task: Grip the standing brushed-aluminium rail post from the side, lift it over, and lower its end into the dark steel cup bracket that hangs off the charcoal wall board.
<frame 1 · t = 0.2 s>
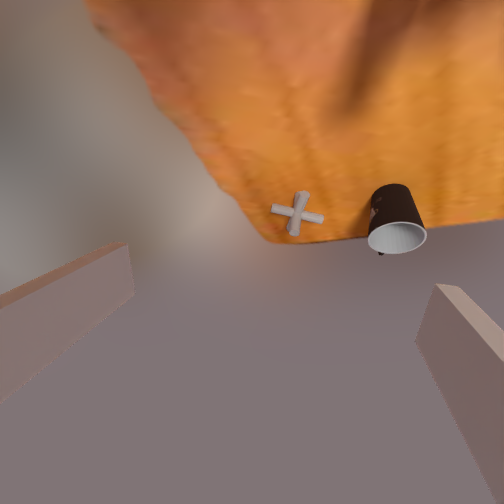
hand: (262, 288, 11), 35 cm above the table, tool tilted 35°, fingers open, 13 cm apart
coffee mug: (384, 201, 50), on the table
pipe connector: (299, 194, 53), on the table
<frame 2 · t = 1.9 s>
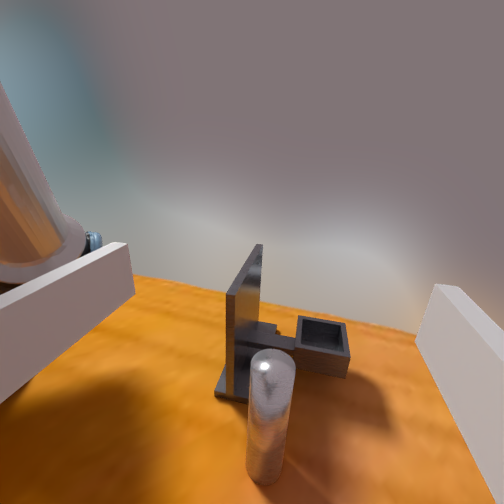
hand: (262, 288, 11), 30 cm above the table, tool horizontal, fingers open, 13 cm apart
rail post: (263, 463, 32), on the table
cup bracket: (315, 371, 45), on the table
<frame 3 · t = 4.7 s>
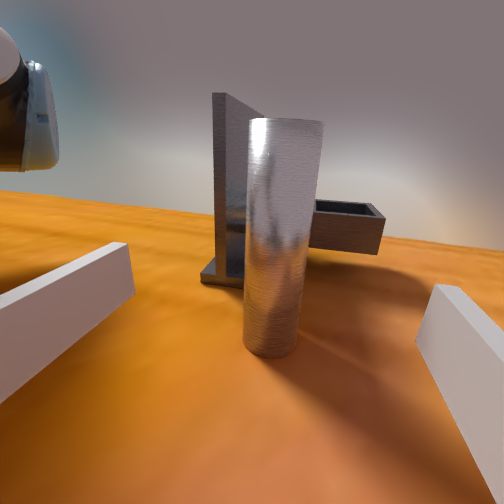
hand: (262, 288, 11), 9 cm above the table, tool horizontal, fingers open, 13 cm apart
rail post: (269, 338, 21), on the table
cup bracket: (332, 266, 35), on the table
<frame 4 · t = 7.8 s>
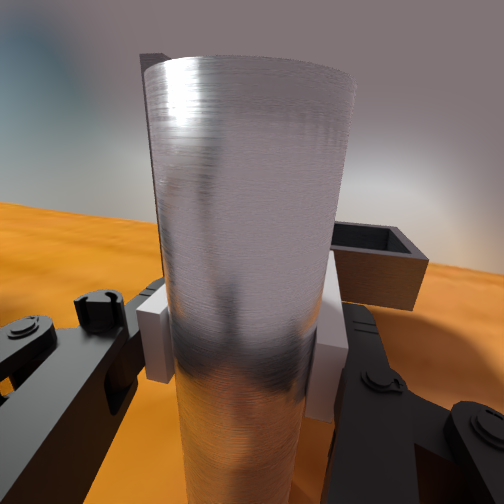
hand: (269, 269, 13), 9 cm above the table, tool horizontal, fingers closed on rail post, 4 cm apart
rail post: (238, 495, 12), on the table, touching gripper
cup bracket: (342, 313, 25), on the table
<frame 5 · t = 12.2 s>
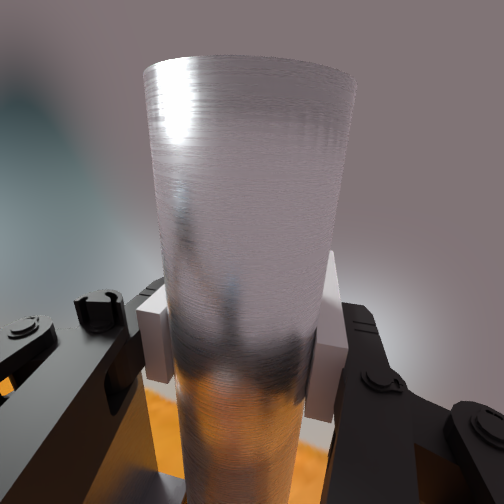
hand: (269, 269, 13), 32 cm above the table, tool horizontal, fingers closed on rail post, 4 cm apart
rail post: (238, 496, 12), point 23 cm above the table, touching gripper
when the fingers open (15 cm above the table, at t = 16.9 s): rail post drops 1 cm, resting on cup bracket.
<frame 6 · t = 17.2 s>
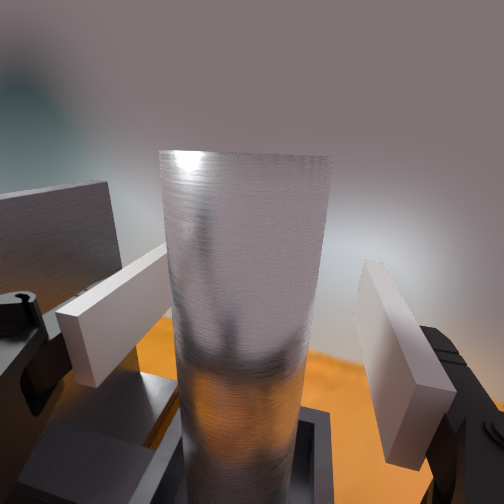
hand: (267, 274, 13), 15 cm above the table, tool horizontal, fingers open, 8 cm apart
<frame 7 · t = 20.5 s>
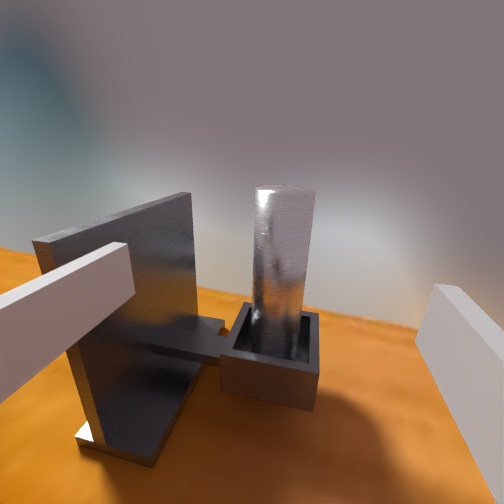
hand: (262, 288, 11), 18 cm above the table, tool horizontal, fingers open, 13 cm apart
rail post: (272, 356, 25), point 5 cm above the table, touching cup bracket
cup bracket: (270, 393, 27), on the table
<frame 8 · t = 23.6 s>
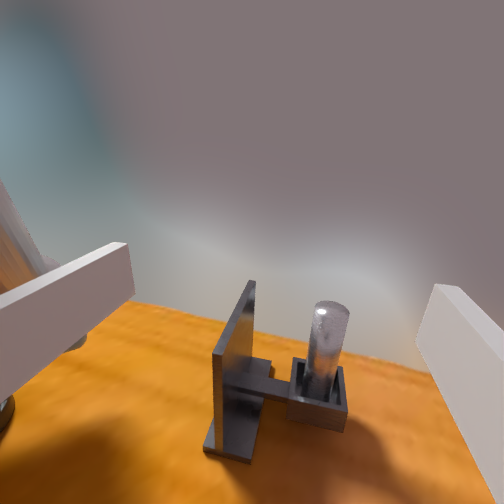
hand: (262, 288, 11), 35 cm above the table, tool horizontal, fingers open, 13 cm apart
rail post: (314, 395, 40), point 5 cm above the table, touching cup bracket
cup bracket: (310, 417, 42), on the table
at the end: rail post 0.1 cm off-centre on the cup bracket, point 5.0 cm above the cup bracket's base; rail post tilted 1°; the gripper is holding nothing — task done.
